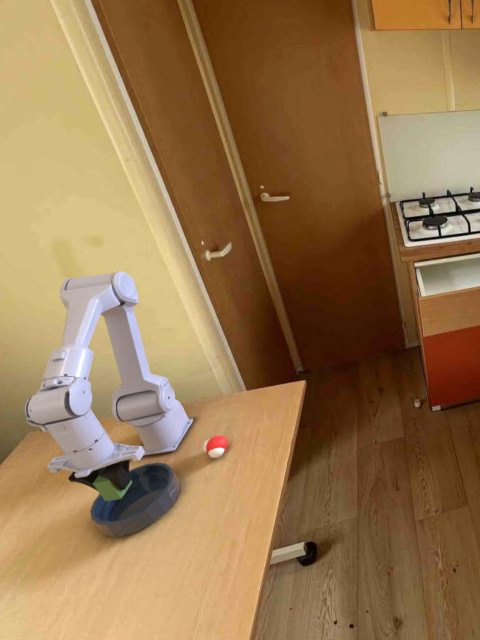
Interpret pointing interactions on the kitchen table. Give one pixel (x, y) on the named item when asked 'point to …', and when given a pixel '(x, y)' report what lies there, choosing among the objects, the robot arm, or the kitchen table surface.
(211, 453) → the molecule
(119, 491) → the green block
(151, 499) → the bowl
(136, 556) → the kitchen table surface
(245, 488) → the kitchen table surface
